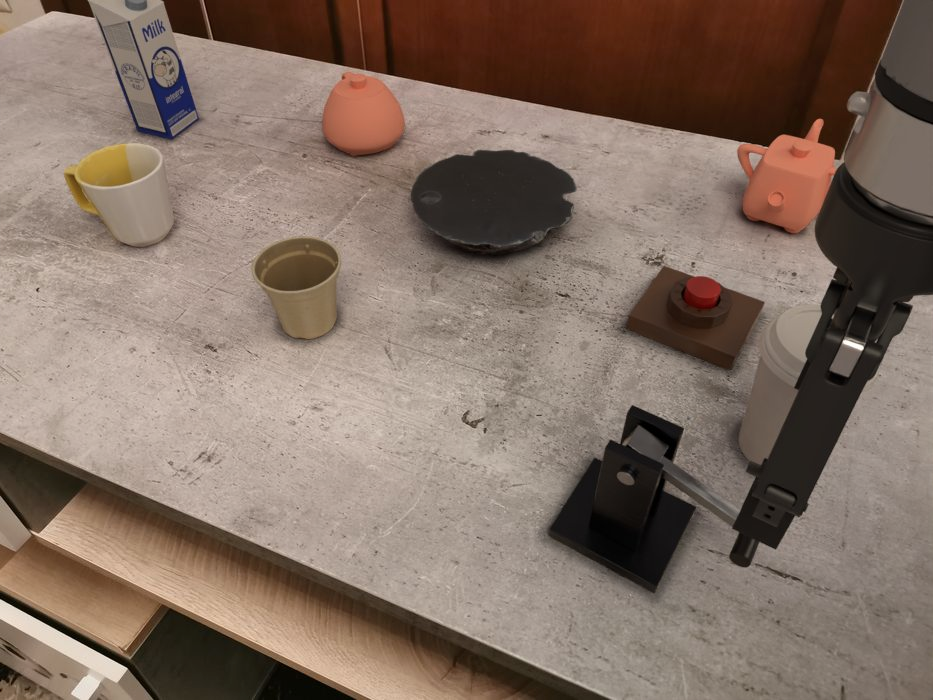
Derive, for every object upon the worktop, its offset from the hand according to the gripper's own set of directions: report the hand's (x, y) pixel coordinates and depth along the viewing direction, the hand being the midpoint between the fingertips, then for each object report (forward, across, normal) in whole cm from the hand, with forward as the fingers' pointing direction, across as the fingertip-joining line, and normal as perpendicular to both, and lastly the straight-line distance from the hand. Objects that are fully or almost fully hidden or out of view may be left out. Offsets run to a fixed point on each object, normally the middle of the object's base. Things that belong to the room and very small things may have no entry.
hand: (787, 458), depth 49 cm
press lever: (+9, 0, -5) cm, 10 cm away
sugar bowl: (+17, -40, -70) cm, 83 cm away
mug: (+17, -6, -82) cm, 83 cm away
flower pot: (+17, -5, -50) cm, 54 cm away
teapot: (+17, -54, -12) cm, 58 cm away
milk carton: (+16, -27, -100) cm, 104 cm away
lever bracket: (+17, 0, -10) cm, 20 cm away
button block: (+17, -28, -14) cm, 36 cm away
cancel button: (+13, -28, -13) cm, 34 cm away
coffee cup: (+17, -16, -1) cm, 23 cm away
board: (+17, -32, -42) cm, 56 cm away
